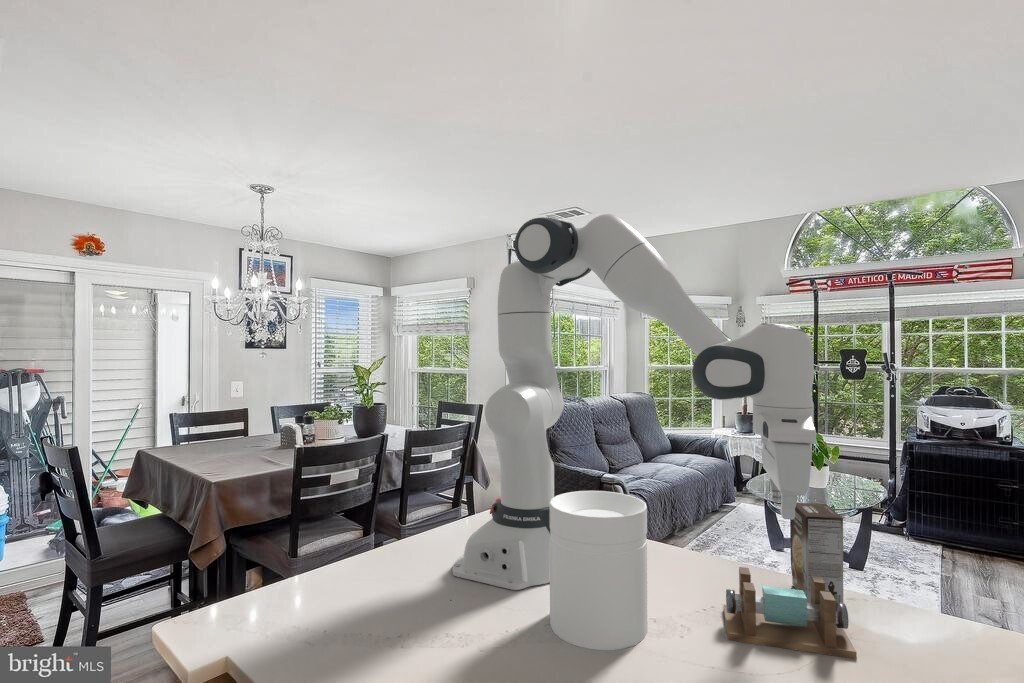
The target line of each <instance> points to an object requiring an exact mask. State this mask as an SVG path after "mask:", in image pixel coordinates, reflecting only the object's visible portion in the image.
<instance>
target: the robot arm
mask: <svg viewBox="0 0 1024 683" xmlns="http://www.w3.org/2000/svg"><path fill="white" fill-rule="evenodd" d="M514 253H515V255H516V258H517V260H518V261H514V262H511V263H509V264H508V265H506V266H505V267H504V268H503V270H502V271H501V273H500V279H499V283H498V284H499V285H498V294H497V333H498V334H497V335H498V340H497V341H498V353H499V357H501V359H502V361H503V364H504V366H505V370H506V373H507V378H508V384H505V385H502V386H501V387H499V389H497V390H496V391H495V392H493V394H491V396H489V398H488V400H487V401H486V404H485V408H484V416H485V417H484V418H485V421H486V422H485V423H486V425H487V426H488V428H489V429H490V431H491V432H492V434H493V435H494V436H493V437H494V440H495V441H494V442H495V444H496V445H495V446H496V449H497V454H498V459H499V460H498V461H499V469H500V476H499V477H500V496H498V498H497V499H495V502H494V503H492V505H491V507H490V508H489V515H491V517H492V518H490V520H488V521H486V522H485V523H484V524H483V525H481V526H480V527H479V528H478V529H477V530H475V531H474V532H473V533H472V534H471V535H470V536H469V537H468V539H467V541H466V544H465V546H464V551H463V554H462V555H460V556H459V557H458V558H457V559H456V560H455V561H454V563H453V565H452V571H451V572H452V575H453V576H454V577H457V578H462V579H464V580H465V579H466V580H471V581H474V582H479V583H483V584H487V585H491V586H495V587H500V588H503V589H509V590H512V591H519V590H523V589H526V588H528V587H532V586H533V587H534V586H539V585H544V584H550V500H551V499H552V498H553V497H555V463H554V460H553V459H552V458H551V454H550V450H549V446H548V441H547V439H548V438H547V429H550V428H551V427H553V426H554V425H555V424H556V423H557V422H558V420H559V419H560V417H561V415H562V413H563V411H564V408H565V406H564V404H565V402H564V397H563V394H562V392H561V389H560V386H559V379H558V373H557V370H556V364H555V361H554V353H553V340H552V339H553V336H552V314H551V311H552V309H551V293H552V290H553V288H554V286H557V287H562V286H564V285H566V284H569V283H571V282H573V281H576V280H579V279H581V278H583V277H585V276H587V275H589V273H591V272H593V273H595V275H596V276H597V277H598V279H599V280H600V281H601V282H602V283H603V284H604V286H606V288H607V289H608V290H609V291H610V292H611V293H612V294H613V295H614V296H615V297H617V298H618V299H619V300H620V301H621V302H622V303H624V304H625V305H626V306H628V307H629V308H631V309H633V310H634V311H638V312H640V313H642V314H645V315H647V316H650V317H652V318H654V319H657V321H660V322H661V323H662V324H664V325H666V326H667V327H669V328H670V329H671V330H672V331H673V332H674V333H675V334H676V335H677V336H678V337H679V338H680V340H682V341H683V342H684V343H685V344H686V346H687V347H688V348H690V350H691V351H692V352H693V353H694V354H695V355H696V358H695V360H694V361H693V364H692V378H693V381H694V384H695V386H696V387H697V389H698V390H699V391H700V392H701V393H702V394H704V395H705V396H706V397H709V398H712V399H714V400H718V401H723V402H724V401H725V402H726V401H733V400H737V399H742V398H750V399H752V432H753V434H756V435H760V437H761V438H760V443H762V450H761V451H762V452H761V462H762V467H763V469H764V471H765V472H766V473H767V475H768V479H769V486H770V487H769V488H770V499H771V500H772V501H773V503H779V504H780V503H781V504H780V515H781V517H782V519H784V520H791V521H792V520H793V519H794V518H795V507H796V503H798V499H799V498H798V497H799V496H802V497H804V496H806V495H807V494H808V491H809V487H810V479H811V468H812V455H813V453H812V452H813V451H812V444H813V445H815V444H816V442H817V431H816V427H815V419H814V417H815V416H814V414H815V412H814V410H815V404H814V401H813V397H812V387H813V383H814V381H815V365H814V361H815V360H814V351H813V350H814V349H813V342H812V339H811V337H810V335H809V334H808V333H807V332H806V331H805V330H803V329H802V328H799V327H797V326H793V325H788V324H780V323H773V322H772V323H771V322H763V323H759V324H758V325H757V326H755V327H754V328H753V329H751V330H750V331H747V332H746V333H743V334H742V335H740V336H738V337H737V336H736V337H734V338H733V339H732V338H731V337H728V335H727V334H725V332H723V331H722V330H721V329H720V328H719V327H718V326H717V325H716V324H715V323H714V322H713V321H712V320H711V319H710V318H709V317H708V316H707V315H706V314H705V313H704V311H702V309H700V307H698V306H697V305H696V303H694V302H693V300H692V299H691V298H690V296H689V294H687V292H686V290H685V289H684V287H683V286H682V284H681V283H680V282H679V280H678V279H677V277H676V276H675V274H674V273H673V271H672V269H671V268H670V266H669V265H668V264H667V262H666V261H665V260H664V258H663V257H662V255H660V253H659V252H658V251H657V249H656V248H655V247H654V246H653V245H652V244H651V243H650V242H649V241H648V240H647V238H645V237H644V236H643V235H642V234H641V233H639V231H637V230H636V229H635V228H633V227H632V226H631V225H630V224H629V223H627V222H626V221H624V220H623V219H622V218H620V217H618V216H617V215H615V214H611V213H604V214H600V215H598V216H596V217H594V218H592V219H591V220H590V221H588V223H587V224H585V225H584V226H583V227H575V224H573V223H572V222H568V221H563V220H562V219H561V220H560V219H556V218H554V217H535V218H531V219H529V220H528V221H525V223H523V224H522V225H521V226H520V227H519V229H518V231H517V232H516V235H515V238H514Z"/></svg>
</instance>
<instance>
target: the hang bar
mask: <svg viewBox="0 0 1024 683" xmlns="http://www.w3.org/2000/svg"><path fill="white" fill-rule="evenodd" d="M725 602H726V604H725V605H726V607H727V613H731V614H735V613H736V611H743V595H742V594H739V593H736V591H735V589H728V588H726V589H725ZM756 613H758V614H763V615H764V619H765V621H767V622H775V623H782V624H790V625H797V626H804V627H807V620H811V621H819V622H820V604H815V603H807V598H806V596H805V594H804V592H803V590H796V589H795V588H794V589H793V588H784V587H776V586H770V585H769V586H767V585H762V596H757V595H756ZM849 621H850V620H849V613H848V608H847V605H846V603H844V602H843V603H837V602H836V626H837V628H843V629H844V630H847V629H849Z"/></svg>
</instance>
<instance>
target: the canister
mask: <svg viewBox="0 0 1024 683" xmlns="http://www.w3.org/2000/svg"><path fill="white" fill-rule="evenodd" d="M647 534H648V507H647V503H646V502H645V501H644V500H642V499H641V498H638V497H635V496H633V495H629V494H625V493H620V492H614V491H606V490H578V491H577V490H575V491H570V492H565V493H560V494H557V495H554V497H553V498H552V499H551V500H550V582H549V625H550V627H551V629H552V630H551V631H553V633H554V634H556V636H557V637H559V638H560V639H561V640H563V641H565V642H567V643H569V644H571V645H573V646H576V647H579V648H584V649H587V650H595V651H598V650H599V651H604V652H605V651H616V650H617V651H618V650H624V649H626V648H627V649H628V648H630V647H633V646H636V645H637V644H639V643H640V642H642V641H643V640H644V639H645V637H646V636H647V634H648V633H649V632H648V624H649V623H648V541H647Z"/></svg>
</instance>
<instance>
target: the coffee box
mask: <svg viewBox="0 0 1024 683" xmlns="http://www.w3.org/2000/svg"><path fill="white" fill-rule="evenodd" d="M791 567H792V568H791V570H792V571H791V573H792V574H791V576H792V577H791V578H792V580H791V581H792V586H793V587H794V589H795V590H803V592H804V594H805V596H806V598H807V603H811V577H810V575H818V576H821V577H822V579H823V581H824V582H825V592H831V594H832V595H833V597H834V599H835V600H836V602H837V603H844V518H843V517H842V516H841V515H840V514H839V513H837V512H836V511H835V510H834V509H833V508H831V507H830V505H828V504H827V503H814V502H813V503H811V502H797V503H796V507H795V518H794V519H793V520H791Z"/></svg>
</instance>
